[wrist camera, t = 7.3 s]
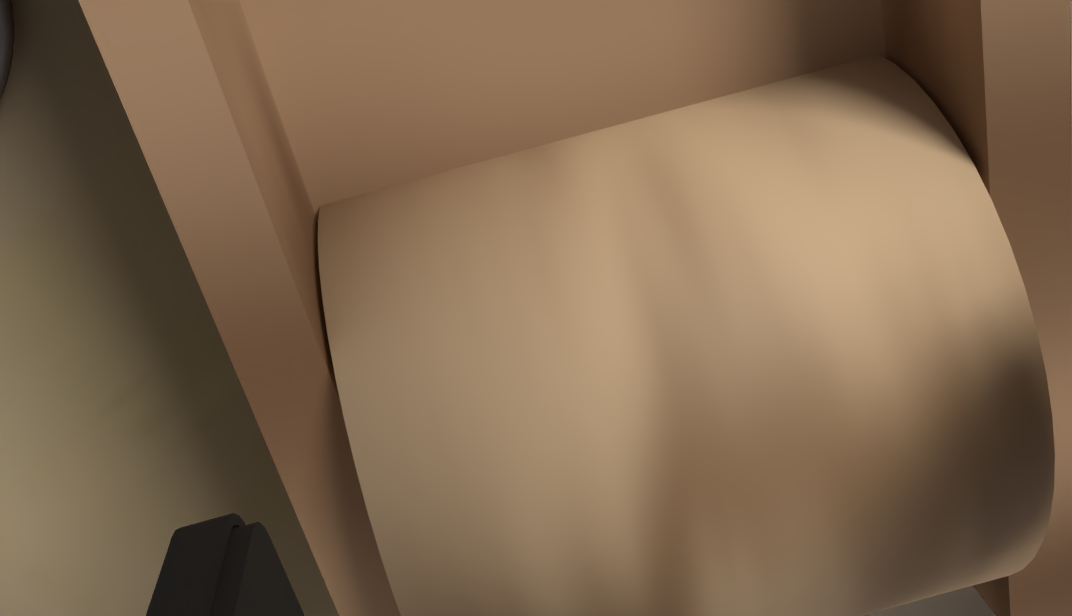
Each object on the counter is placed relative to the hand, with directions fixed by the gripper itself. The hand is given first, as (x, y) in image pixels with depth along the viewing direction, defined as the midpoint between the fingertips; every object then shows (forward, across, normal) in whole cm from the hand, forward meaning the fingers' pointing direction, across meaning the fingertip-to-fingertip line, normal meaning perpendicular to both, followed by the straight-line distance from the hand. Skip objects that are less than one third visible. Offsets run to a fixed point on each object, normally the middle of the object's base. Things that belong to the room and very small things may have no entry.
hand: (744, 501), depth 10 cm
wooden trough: (+9, 0, -9) cm, 13 cm away
